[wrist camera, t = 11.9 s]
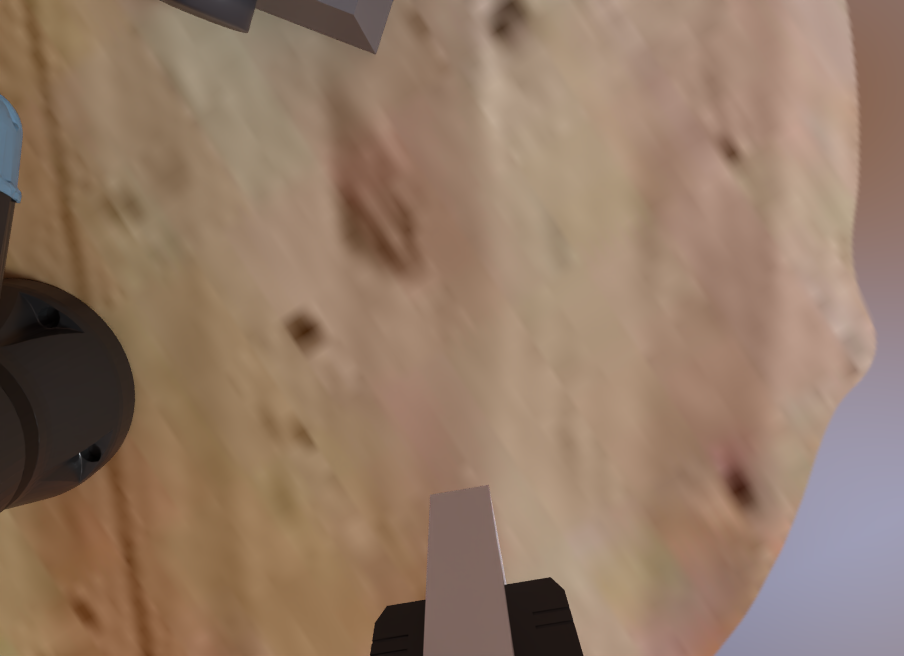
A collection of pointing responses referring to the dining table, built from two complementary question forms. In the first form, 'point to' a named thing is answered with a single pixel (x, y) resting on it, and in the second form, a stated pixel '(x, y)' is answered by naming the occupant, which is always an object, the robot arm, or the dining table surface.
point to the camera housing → (301, 16)
